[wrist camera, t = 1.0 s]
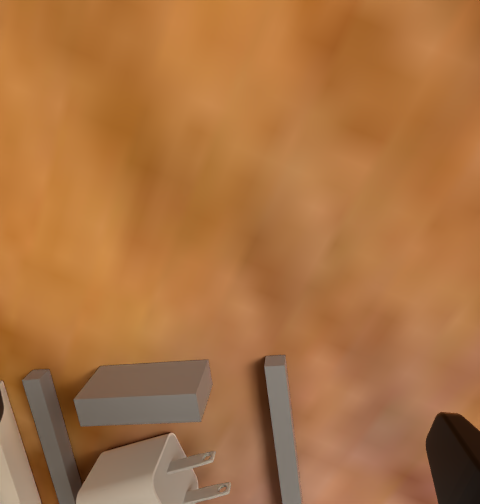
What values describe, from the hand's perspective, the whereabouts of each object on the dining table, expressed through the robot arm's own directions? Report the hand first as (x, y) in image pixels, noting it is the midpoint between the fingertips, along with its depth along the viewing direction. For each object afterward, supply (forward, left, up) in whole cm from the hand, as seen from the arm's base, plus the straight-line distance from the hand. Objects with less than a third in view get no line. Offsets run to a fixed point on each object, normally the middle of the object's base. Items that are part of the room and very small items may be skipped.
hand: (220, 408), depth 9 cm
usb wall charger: (-12, +7, -13) cm, 19 cm away
